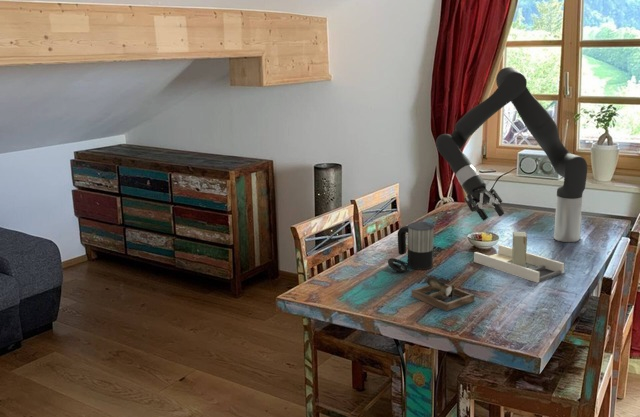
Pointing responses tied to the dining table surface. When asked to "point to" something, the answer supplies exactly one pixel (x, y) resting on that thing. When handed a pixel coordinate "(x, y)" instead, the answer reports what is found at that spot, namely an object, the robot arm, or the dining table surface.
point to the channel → (517, 269)
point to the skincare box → (519, 248)
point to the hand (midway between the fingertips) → (494, 217)
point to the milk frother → (415, 247)
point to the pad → (502, 257)
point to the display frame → (421, 295)
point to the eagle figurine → (440, 288)
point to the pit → (546, 273)
